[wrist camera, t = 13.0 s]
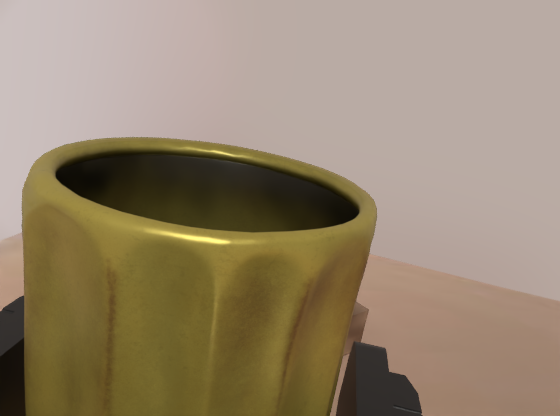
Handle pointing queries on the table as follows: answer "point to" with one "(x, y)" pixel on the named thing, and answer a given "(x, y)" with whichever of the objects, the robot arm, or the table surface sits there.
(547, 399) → the table surface
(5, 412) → the robot arm
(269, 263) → the vase
